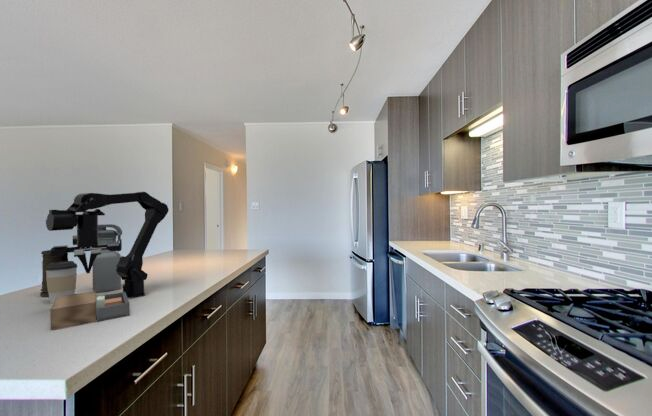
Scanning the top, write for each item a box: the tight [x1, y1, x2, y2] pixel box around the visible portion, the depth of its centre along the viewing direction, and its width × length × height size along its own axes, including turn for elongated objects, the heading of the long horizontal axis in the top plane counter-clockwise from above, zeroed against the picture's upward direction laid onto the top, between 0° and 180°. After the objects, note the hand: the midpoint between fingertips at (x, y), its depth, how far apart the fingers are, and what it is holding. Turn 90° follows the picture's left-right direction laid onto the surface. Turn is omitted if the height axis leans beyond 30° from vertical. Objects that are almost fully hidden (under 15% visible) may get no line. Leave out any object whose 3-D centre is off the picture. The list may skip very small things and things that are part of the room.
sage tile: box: [96, 295, 105, 309], centre depth 93 cm, size 5×5×2 cm
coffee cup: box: [45, 260, 78, 305], centre depth 109 cm, size 9×9×15 cm
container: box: [39, 249, 69, 298], centre depth 119 cm, size 9×9×18 cm
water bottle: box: [91, 223, 123, 293], centre depth 125 cm, size 10×10×28 cm
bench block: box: [49, 290, 97, 331], centre depth 91 cm, size 10×16×6 cm, turn 38°
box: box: [96, 291, 131, 323], centre depth 97 cm, size 8×17×4 cm, turn 38°
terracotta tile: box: [105, 297, 122, 306], centre depth 100 cm, size 5×5×2 cm
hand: (88, 273), depth 102 cm, fingers closed
